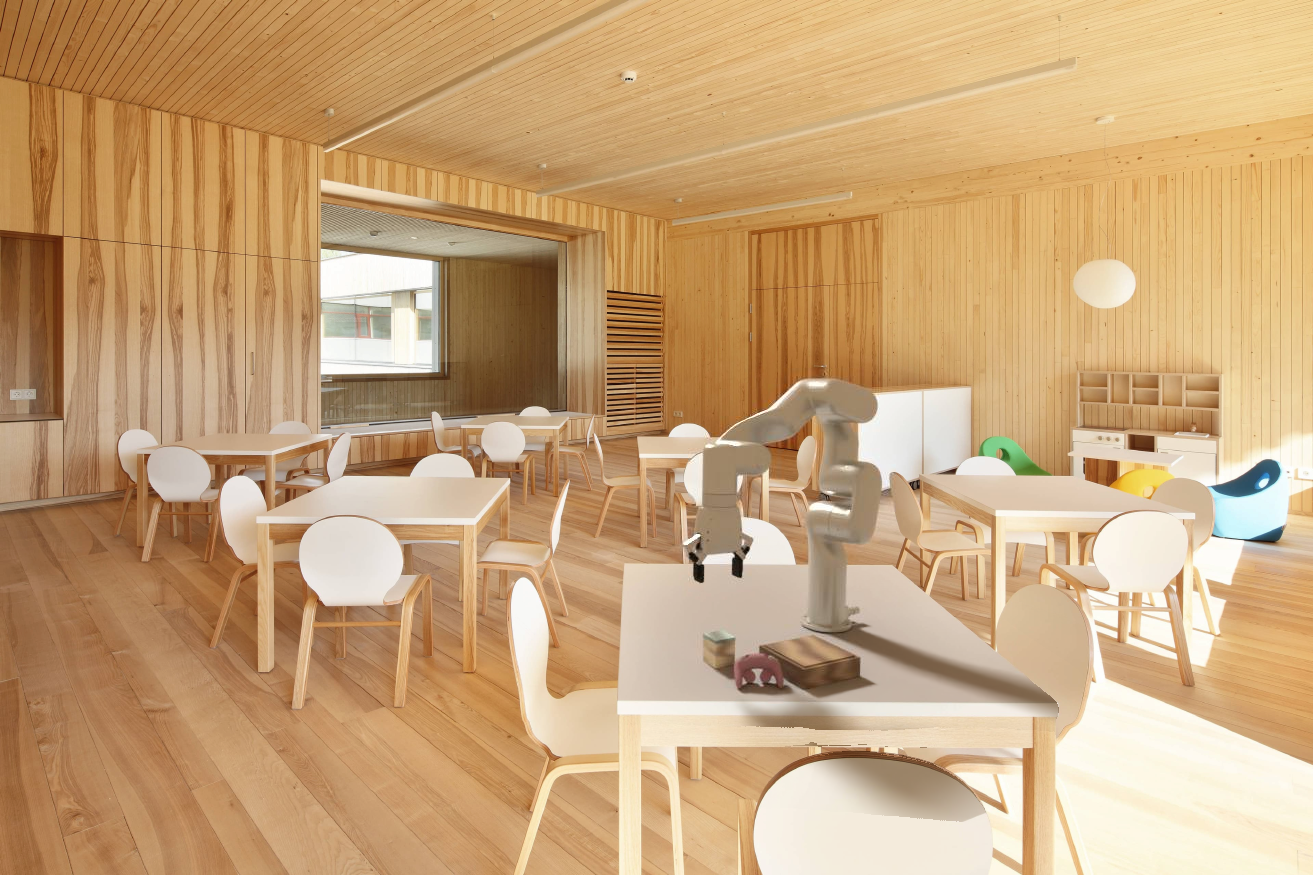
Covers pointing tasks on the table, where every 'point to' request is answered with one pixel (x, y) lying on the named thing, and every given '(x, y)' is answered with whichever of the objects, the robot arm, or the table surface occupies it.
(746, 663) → the video game controller
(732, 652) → the maple block
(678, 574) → the table surface
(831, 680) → the walnut plinth
